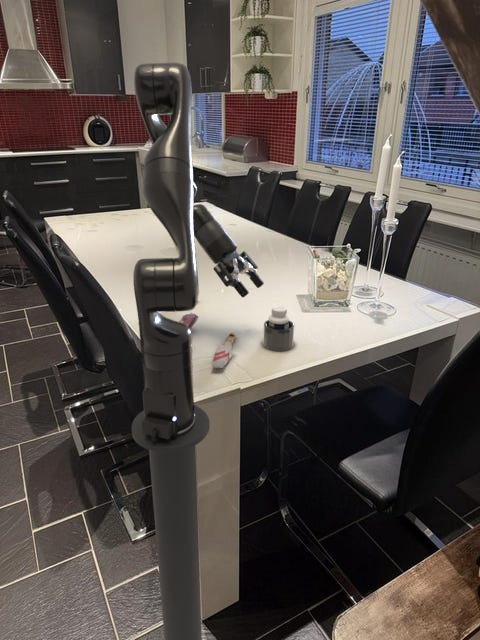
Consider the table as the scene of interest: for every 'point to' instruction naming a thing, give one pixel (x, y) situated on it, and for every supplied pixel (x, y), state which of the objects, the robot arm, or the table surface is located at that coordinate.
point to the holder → (278, 337)
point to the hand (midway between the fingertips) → (253, 290)
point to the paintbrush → (223, 352)
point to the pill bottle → (279, 318)
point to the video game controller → (189, 320)
